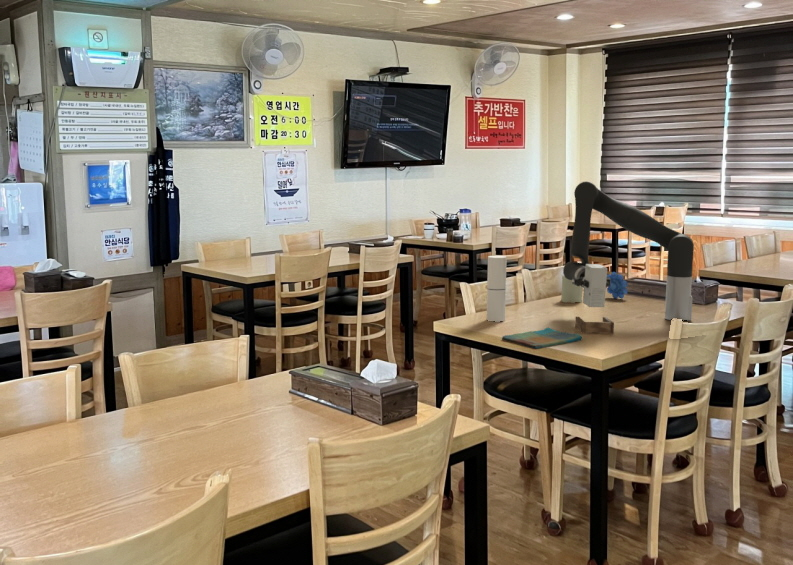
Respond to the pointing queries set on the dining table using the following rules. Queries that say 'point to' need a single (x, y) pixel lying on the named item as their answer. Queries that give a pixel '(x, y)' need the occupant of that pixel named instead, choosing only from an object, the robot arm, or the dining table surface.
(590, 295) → the skincare box
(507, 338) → the dish towel
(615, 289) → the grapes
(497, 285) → the cylindrical container
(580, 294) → the can
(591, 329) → the bracket
